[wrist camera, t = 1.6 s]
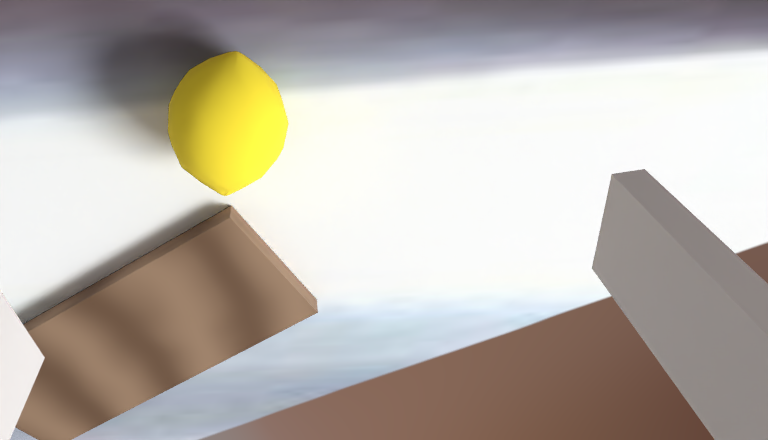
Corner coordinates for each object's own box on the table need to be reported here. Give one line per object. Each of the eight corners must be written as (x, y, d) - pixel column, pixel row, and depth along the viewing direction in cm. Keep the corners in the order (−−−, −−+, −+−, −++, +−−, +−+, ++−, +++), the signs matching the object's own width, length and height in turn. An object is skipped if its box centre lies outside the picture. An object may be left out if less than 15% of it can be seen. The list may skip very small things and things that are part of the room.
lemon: (180, 30, 26) (161, 51, 21) (294, 51, 27) (300, 75, 23) (172, 166, 29) (154, 211, 24) (276, 179, 30) (278, 224, 26)
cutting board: (59, 433, 40) (54, 448, 39) (-55, 368, 35) (-64, 383, 34) (316, 299, 36) (317, 312, 35) (231, 205, 31) (230, 217, 30)
